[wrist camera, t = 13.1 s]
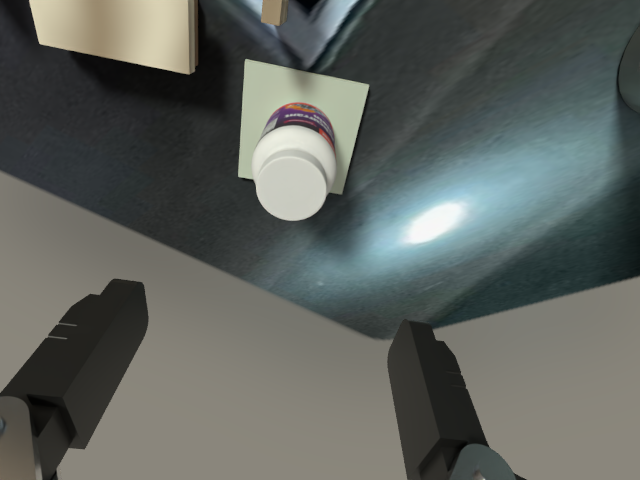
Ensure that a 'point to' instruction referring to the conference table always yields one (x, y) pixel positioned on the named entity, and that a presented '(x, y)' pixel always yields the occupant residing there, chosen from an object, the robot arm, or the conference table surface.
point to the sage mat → (295, 85)
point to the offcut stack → (123, 30)
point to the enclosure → (274, 11)
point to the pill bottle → (295, 161)
